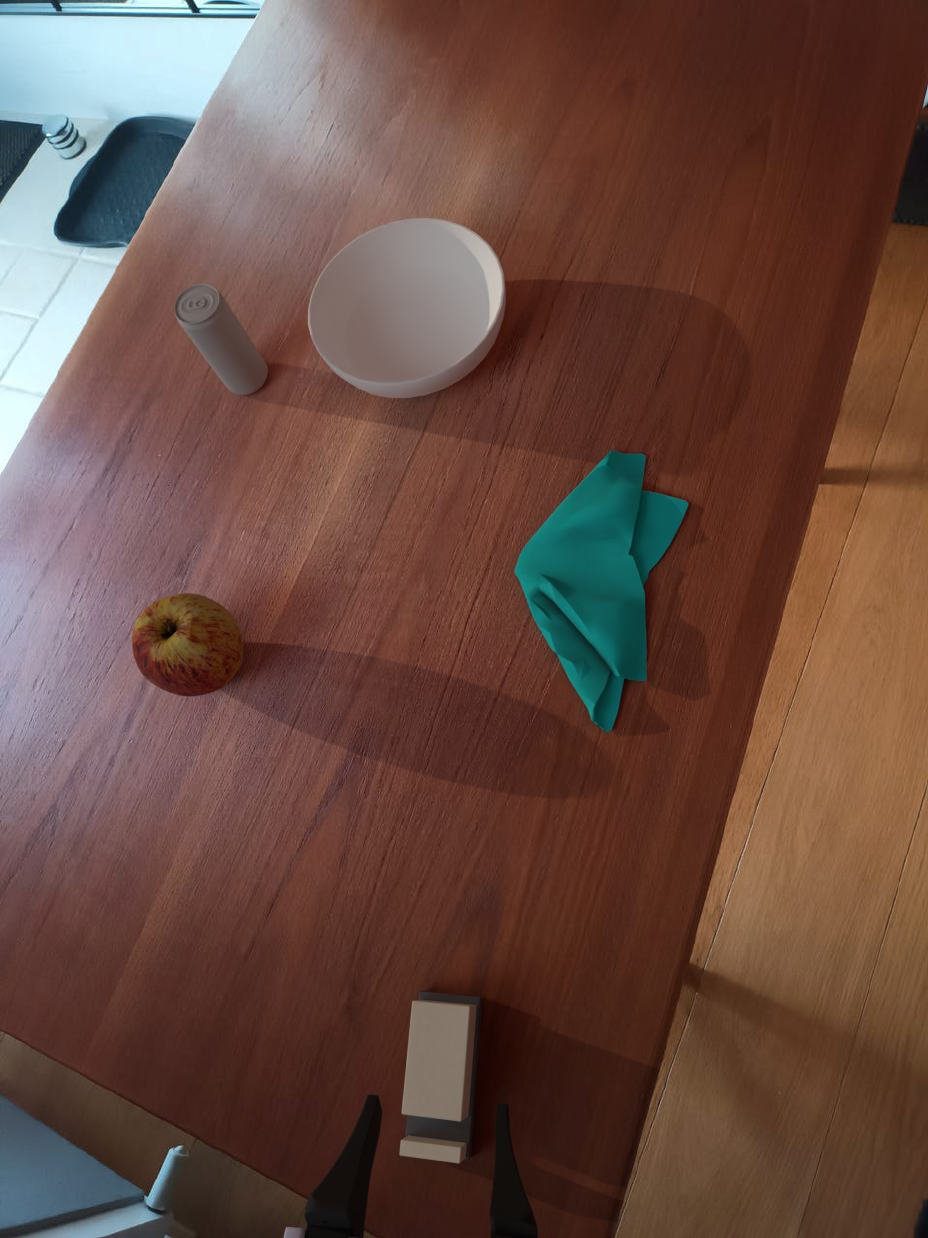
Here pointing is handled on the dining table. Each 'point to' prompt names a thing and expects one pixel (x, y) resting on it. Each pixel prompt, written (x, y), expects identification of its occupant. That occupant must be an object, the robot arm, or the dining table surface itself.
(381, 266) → the bowl
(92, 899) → the dining table surface
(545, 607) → the cloth
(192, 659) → the apple
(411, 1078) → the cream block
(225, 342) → the beverage can
